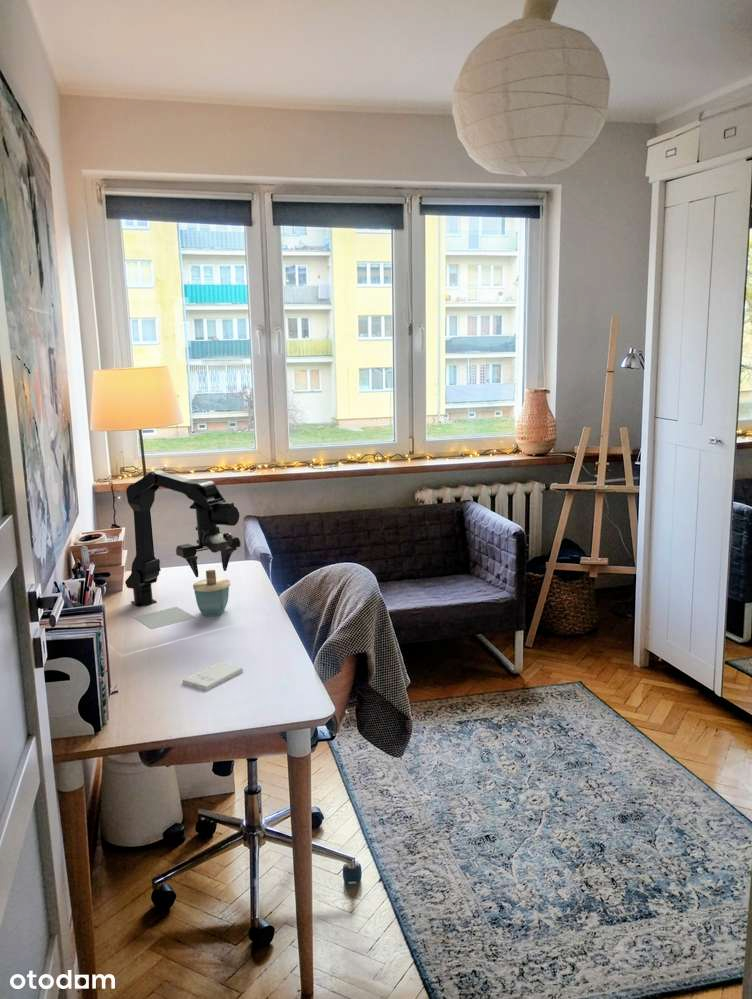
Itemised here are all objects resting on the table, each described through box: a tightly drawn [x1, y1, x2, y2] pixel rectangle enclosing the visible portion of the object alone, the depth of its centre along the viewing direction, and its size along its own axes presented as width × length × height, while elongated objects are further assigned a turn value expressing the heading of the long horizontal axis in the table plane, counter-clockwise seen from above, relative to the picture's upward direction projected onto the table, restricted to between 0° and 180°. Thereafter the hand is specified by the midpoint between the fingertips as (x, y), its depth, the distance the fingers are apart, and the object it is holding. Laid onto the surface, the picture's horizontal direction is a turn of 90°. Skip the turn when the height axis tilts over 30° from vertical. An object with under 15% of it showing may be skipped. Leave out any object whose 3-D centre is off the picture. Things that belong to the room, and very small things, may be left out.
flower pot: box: [194, 586, 230, 617], centre depth 236 cm, size 9×9×9 cm
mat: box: [133, 606, 197, 630], centre depth 235 cm, size 14×14×1 cm
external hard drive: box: [182, 661, 244, 691], centre depth 190 cm, size 2×8×12 cm
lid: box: [192, 569, 231, 592], centre depth 235 cm, size 11×11×5 cm
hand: (211, 573), depth 235 cm, fingers open, 9 cm apart
